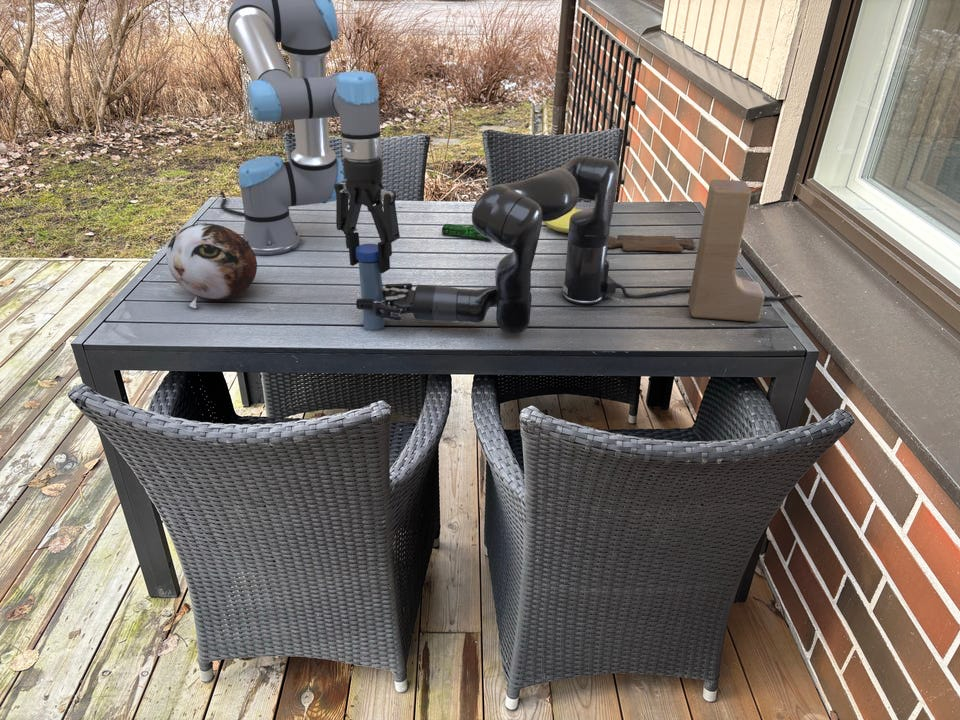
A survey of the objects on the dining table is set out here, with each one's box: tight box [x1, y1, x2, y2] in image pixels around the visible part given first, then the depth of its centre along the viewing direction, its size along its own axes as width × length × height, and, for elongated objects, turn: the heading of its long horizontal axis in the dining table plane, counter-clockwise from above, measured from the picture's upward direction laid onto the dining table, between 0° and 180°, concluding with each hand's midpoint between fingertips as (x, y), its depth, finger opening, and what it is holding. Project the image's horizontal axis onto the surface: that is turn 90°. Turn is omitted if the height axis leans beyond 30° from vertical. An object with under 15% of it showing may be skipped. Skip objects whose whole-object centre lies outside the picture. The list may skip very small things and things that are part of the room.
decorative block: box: [687, 178, 765, 323], centre depth 157 cm, size 8×15×30 cm, turn 82°
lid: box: [356, 243, 379, 262], centre depth 149 cm, size 6×6×2 cm
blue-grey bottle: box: [358, 260, 386, 331], centre depth 153 cm, size 5×5×18 cm
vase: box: [544, 206, 583, 234], centre depth 209 cm, size 16×16×7 cm
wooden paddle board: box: [608, 234, 695, 253], centre depth 200 cm, size 26×2×10 cm
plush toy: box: [165, 222, 258, 309], centre depth 165 cm, size 22×18×20 cm
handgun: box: [441, 223, 492, 242], centre depth 207 cm, size 16×3×15 cm
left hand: (370, 266), depth 151 cm, fingers open, 7 cm apart
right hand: (360, 298), depth 155 cm, fingers closed on blue-grey bottle, 4 cm apart
